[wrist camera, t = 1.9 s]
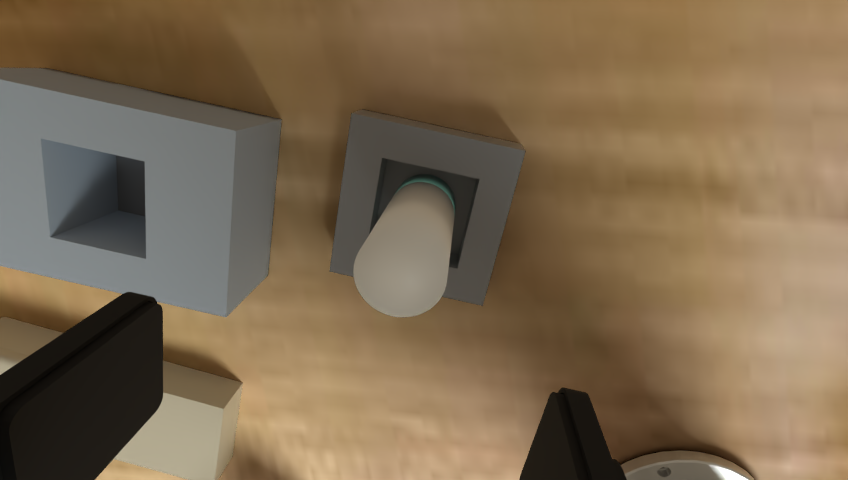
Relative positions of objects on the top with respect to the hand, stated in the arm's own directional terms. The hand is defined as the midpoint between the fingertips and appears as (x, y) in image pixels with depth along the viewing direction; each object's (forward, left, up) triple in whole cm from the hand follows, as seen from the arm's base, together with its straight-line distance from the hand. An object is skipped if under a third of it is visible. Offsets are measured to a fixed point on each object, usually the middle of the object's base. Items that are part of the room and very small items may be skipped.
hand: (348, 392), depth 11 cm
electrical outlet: (+19, +19, -18) cm, 33 cm away
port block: (+16, +2, -18) cm, 24 cm away
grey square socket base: (0, 0, -18) cm, 18 cm away
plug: (0, 0, -17) cm, 17 cm away
